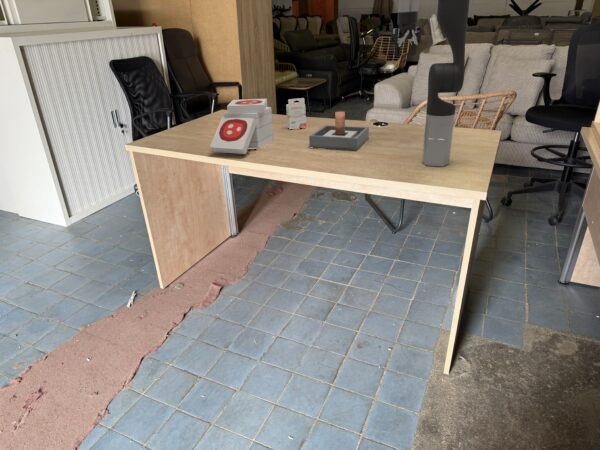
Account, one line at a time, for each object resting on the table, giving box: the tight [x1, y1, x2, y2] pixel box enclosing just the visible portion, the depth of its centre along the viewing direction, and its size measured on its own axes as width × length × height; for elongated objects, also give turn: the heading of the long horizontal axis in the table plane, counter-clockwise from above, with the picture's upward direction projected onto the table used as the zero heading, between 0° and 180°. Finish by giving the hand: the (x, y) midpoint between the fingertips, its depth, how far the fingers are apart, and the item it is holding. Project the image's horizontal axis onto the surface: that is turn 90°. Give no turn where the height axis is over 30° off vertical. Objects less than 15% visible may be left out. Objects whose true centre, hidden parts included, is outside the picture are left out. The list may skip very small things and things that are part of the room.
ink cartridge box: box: [285, 97, 307, 130], centre depth 204 cm, size 9×5×15 cm, turn 105°
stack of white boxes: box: [209, 98, 274, 155], centre depth 175 cm, size 19×30×18 cm, turn 158°
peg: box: [334, 110, 346, 136], centre depth 176 cm, size 4×4×12 cm
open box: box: [308, 124, 370, 152], centre depth 178 cm, size 20×20×5 cm
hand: (405, 56), depth 168 cm, fingers open, 8 cm apart
